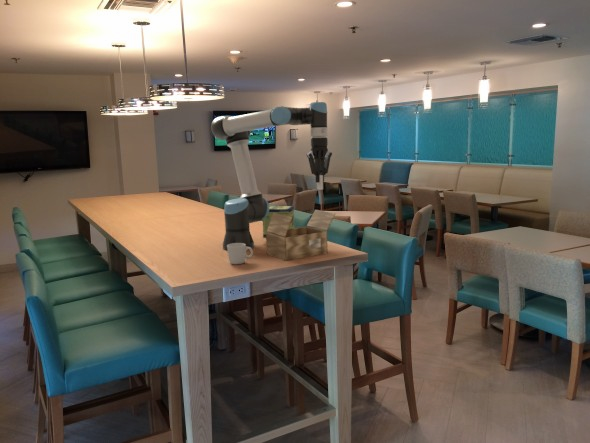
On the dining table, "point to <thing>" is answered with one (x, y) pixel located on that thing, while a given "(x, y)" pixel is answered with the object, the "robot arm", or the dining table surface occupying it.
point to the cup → (238, 253)
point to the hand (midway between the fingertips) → (320, 189)
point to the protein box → (278, 210)
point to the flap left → (279, 224)
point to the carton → (297, 243)
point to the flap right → (321, 219)
